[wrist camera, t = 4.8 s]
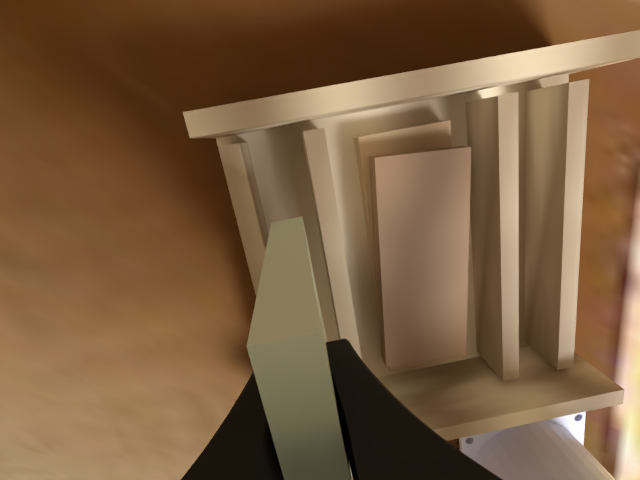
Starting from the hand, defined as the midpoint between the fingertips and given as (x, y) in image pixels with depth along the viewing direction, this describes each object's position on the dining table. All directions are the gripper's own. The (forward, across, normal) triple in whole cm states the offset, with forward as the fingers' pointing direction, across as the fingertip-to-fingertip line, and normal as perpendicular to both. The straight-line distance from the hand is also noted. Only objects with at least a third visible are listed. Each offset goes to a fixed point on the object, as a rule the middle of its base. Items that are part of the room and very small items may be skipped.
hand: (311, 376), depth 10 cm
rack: (+8, -6, 0) cm, 10 cm away
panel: (+5, 0, 0) cm, 5 cm away
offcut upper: (+7, -6, 0) cm, 9 cm away
